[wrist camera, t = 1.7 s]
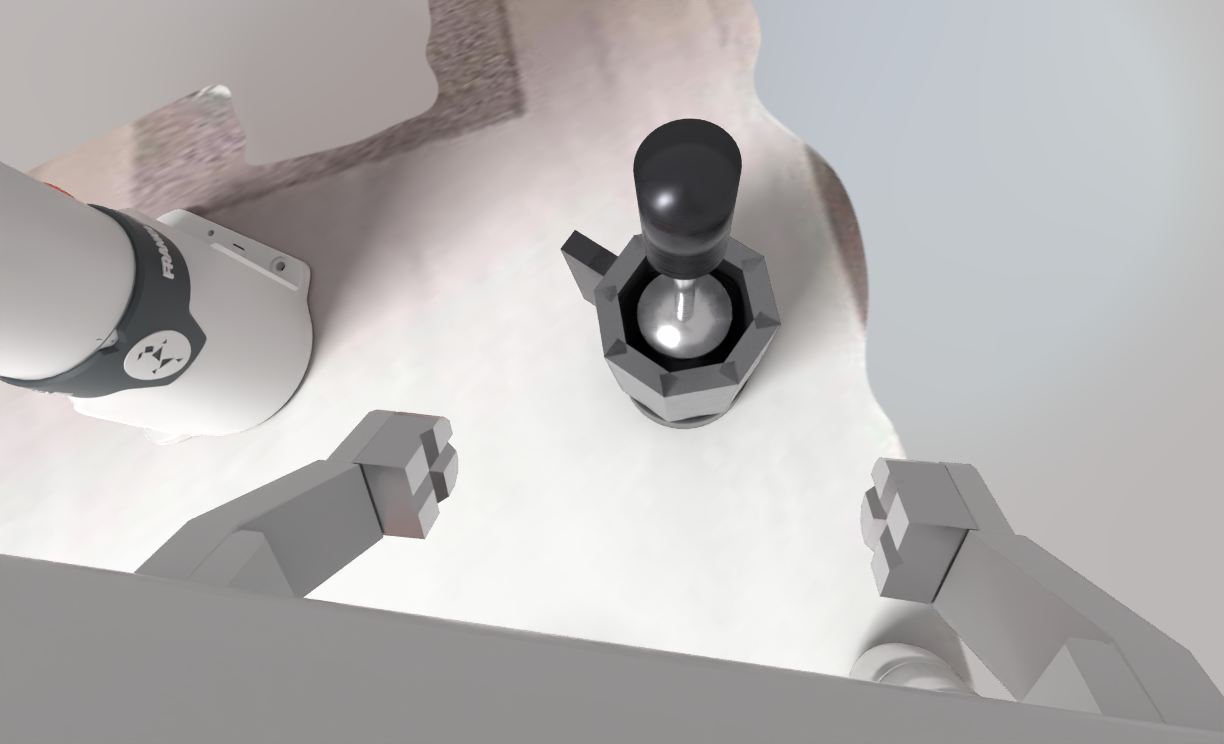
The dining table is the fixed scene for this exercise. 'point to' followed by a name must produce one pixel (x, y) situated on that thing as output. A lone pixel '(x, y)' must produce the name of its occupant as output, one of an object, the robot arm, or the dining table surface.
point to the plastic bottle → (908, 668)
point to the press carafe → (653, 379)
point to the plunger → (686, 234)
